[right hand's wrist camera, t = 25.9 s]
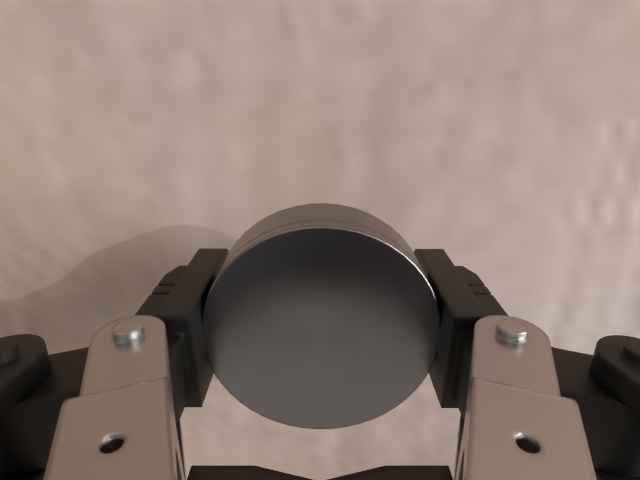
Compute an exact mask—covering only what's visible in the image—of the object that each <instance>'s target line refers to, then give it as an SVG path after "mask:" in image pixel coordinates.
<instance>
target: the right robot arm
mask: <svg viewBox="0 0 640 480" xmlns="http://www.w3.org/2000/svg"><path fill="white" fill-rule="evenodd" d="M228 253H229V252H228V250H227V249H199V250H198V252H197V253H196V254H195V256H194V257H193V259H192V260H191V262H190V263H189V265H188V266H179V267H177V268H175V269H174V270H172V271H170V272H169V273H167V274H166V275H165V276H164V277H163V279H162V280H161V281H160V283H159V284H158V286H157V287H156V288H155V289H154V291H153V292H152V295H150V296H149V297H148V298H147V300H146V301H145V302H144V304H143V305H142V306H141V308H140V309H139V310H138V312H137V313H136V314H135V316H129V317H124V318H121V319H118V320H115V321H112V322H110V323H108V324H106V325H105V326H103V327H101V328H100V329H99V330H97V331H96V332H95V333H94V335H93V336H92V338H91V340H90V345H89V347H87V348H83V349H78V350H73V351H67V352H62V353H57V354H51V355H48V352H47V348H46V345H45V342H44V340H43V339H42V338H41V337H39V336H36V335H30V334H20V335H12V336H7V337H3V338H0V480H312V479H308V478H304V477H299V476H295V475H291V474H287V473H283V472H279V471H274V470H270V469H266V468H262V467H258V466H191V469H190V472H189V475H188V478H186V468H185V458H184V448H183V439H182V429H181V423H180V417H181V415H182V412H183V410H184V407H202V404H203V401H204V399H205V396H206V393H207V390H208V387H209V384H210V382H211V379H212V376H213V373H214V372H213V369H212V367H211V365H210V363H209V361H208V359H207V355H206V350H205V342H204V334H203V325H202V316H203V309H204V305H205V302H206V299H207V296H208V293H209V291H210V289H211V287H212V285H213V283H214V281H215V279H216V277H217V275H218V273H219V271H220V269H221V267H222V265H223V263H224V261H225V259H226V257H227V255H228ZM414 254H415V256H416V258H417V260H418V262H419V264H420V265H421V267H422V269H423V271H424V273H425V275H426V277H427V279H428V281H429V283H430V285H431V287H432V289H433V292H434V294H435V297H436V299H437V302H438V307H439V311H440V331H439V339H438V347H437V354H436V357H435V360H434V362H433V365H432V367H431V369H430V371H429V375H430V377H431V380H432V383H433V386H434V389H435V391H436V394H437V397H438V400H439V402H440V405H441V408H459V410H460V413H461V416H460V423H459V429H458V439H457V448H456V458H455V468H454V478H452V475H451V472H450V469H449V466H382V467H378V468H374V469H370V470H366V471H361V472H357V473H353V474H349V475H345V476H341V477H336V478H332V479H328V480H640V339H638V338H634V337H629V336H621V335H613V336H606V337H603V338H601V339H600V340H598V342H597V344H596V348H595V351H594V355H589V354H583V353H578V352H573V351H567V350H562V349H558V348H554V347H551V345H550V340H549V338H548V336H547V335H546V333H545V332H544V331H543V330H541V329H540V328H539V327H537V326H535V325H534V324H532V323H530V322H528V321H525V320H522V319H519V318H516V317H511V316H508V315H507V313H506V312H505V311H504V310H503V308H502V307H501V306H500V304H499V303H498V302H497V300H496V299H495V298H494V297H493V295H491V293H490V291H489V290H488V289H487V287H484V283H483V282H482V281H481V280H480V278H479V277H478V276H477V275H476V274H475V273H473V272H471V271H470V270H468V269H466V268H465V267H463V266H454V264H453V263H452V261H451V260H450V259H449V257H448V256H447V254H446V253H445V251H444V250H443V249H415V250H414Z"/></svg>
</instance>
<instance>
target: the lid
mask: <svg viewBox="0 0 640 480" xmlns="http://www.w3.org/2000/svg"><path fill="white" fill-rule="evenodd" d="M202 325H203V334H204V342H205V350H206V355H207V359H208V361H209V363H210V365H211V367H212V369H213V372H214V373H215V375H216V376H217V378H218V379H219V381H220V382H221V384H222V385H223V386H224V387H225V388H226V389H227V390H228V392H229V393H230V394H231V395H233V396H234V397H235V398H236V399H237V400H238V401H239V402H240V403H242V404H243V405H245V406H246V407H248V408H249V409H251V410H252V411H254V412H256V413H258V414H260V415H262V416H264V417H266V418H268V419H271V420H273V421H276V422H279V423H283V424H286V425H290V426H295V427H301V428H310V429H333V428H341V427H348V426H352V425H356V424H360V423H363V422H366V421H369V420H372V419H374V418H376V417H379V416H381V415H383V414H385V413H387V412H388V411H390V410H392V409H393V408H395V407H397V406H398V405H399V404H400V403H402V402H403V401H404V400H406V399H407V398H408V397H409V396H410V395H411V394H412V393H413V392H414V391H415V390H416V389H417V388H418V387H419V385H420V384H421V383H422V381H423V380H424V379H425V377H426V376H427V374H428V372H429V371H430V369H431V367H432V365H433V362H434V360H435V357H436V354H437V347H438V339H439V331H440V311H439V307H438V302H437V299H436V297H435V294H434V292H433V289H432V287H431V285H430V283H429V281H428V279H427V277H426V275H425V273H424V271H423V269H422V267H421V265H420V264H419V262H418V260H417V258H416V256H415V254H414V253H413V251H412V249H411V248H410V246H409V245H408V244H407V243H406V241H405V240H404V239H403V238H402V236H400V235H399V234H398V233H397V232H396V231H395V230H394V229H393V228H392V227H390V226H389V225H388V224H386V223H385V222H383V221H382V220H380V219H378V218H376V217H375V216H373V215H371V214H369V213H366V212H364V211H361V210H358V209H355V208H352V207H347V206H343V205H336V204H325V203H324V204H306V205H300V206H295V207H291V208H288V209H284V210H281V211H279V212H276V213H274V214H272V215H270V216H268V217H266V218H264V219H263V220H261V221H259V222H258V223H256V224H255V225H254V226H252V227H251V228H250V229H249V230H247V231H246V232H245V233H244V234H243V235H242V236H241V237H240V238H239V239H238V241H237V242H236V243H235V244H234V246H233V247H232V249H231V250H230V252H229V253H228V255H227V257H226V259H225V261H224V263H223V265H222V267H221V269H220V271H219V273H218V275H217V277H216V279H215V281H214V283H213V285H212V287H211V289H210V291H209V293H208V296H207V299H206V302H205V305H204V309H203V316H202Z"/></svg>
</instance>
